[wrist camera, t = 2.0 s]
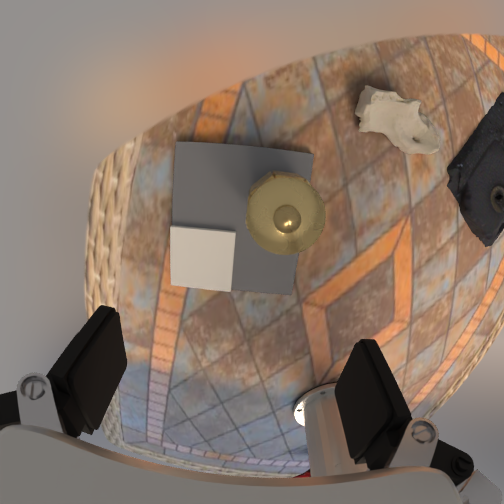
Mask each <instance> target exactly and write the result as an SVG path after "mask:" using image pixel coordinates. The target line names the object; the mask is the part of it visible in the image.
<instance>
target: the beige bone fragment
mask: <svg viewBox="0 0 504 504" xmlns="http://www.w3.org/2000/svg"><path fill="white" fill-rule="evenodd" d="M359 96H360V98H359V101H358V104H357V107H356V109H355V114H356V115H357V116H358V117H361V118H360V119H359V120H361V122H360V123H359V126H360V128H359V132H368V131H374V132H377V133H378V132H381V133H383V134H385V135H386V136H387V137H388V139H389V140H390V141H391V142H392V143H393V145H394V146H396V147H397V146H398V147H399V149H400V151H403V152H405V153H407V154H414V153H421V154H433V153H435V152H437V151H438V149H440V137H439V135H438V133H437V131H436V129H435V127H434V126H433V124H432V123H431V122H430V121H429V120H428V119H427V118H426V116H425V115H423V114H422V113H420V112H418V109H419V107H420V104H421V100H418V99H402V98H401V97H400V96H399V95H397V94H396V92H393V91H384V90H379V89H376V88H373V87H371V86H365V89H364V91H362V92H361V94H360V95H359Z"/></svg>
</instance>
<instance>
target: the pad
mask: <svg viewBox="0 0 504 504" xmlns="http://www.w3.org/2000/svg"><path fill="white" fill-rule="evenodd" d="M235 237H236V231H228V230H218V229H207V228H197V227H186V226H175V225H172V226H171V227H170V270H171V285H174V286H182V287H190V288H199V289H207V290H216V291H225V292H231V285H232V272H233V260H234V249H235Z"/></svg>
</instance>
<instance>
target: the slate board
mask: <svg viewBox="0 0 504 504" xmlns="http://www.w3.org/2000/svg"><path fill="white" fill-rule="evenodd" d="M313 157H314V154H310V153H303V152H296V151H289V150H282V149H273V148H265V147H255V146H245V145H234V144H220V143H204V142H177V141H176V146H175V161H174V178H173V201H172V225H175V226H186V227H197V228H207V229H218V230H228V231H236V237H235V249H234V260H233V272H232V285H231V290H241V291H251V292H261V293H272V294H283V295H291V294H292V289H293V284H294V278H295V273H296V267H297V262H298V256H299V253H296V254H291V255H279V254H275V253H271V252H269V251H267V250H265V249H263V248H262V247H261V246H259V245H258V244H257V243H256V242H255V240H254V239H253V238H252V236H251V234H250V232H249V230H248V228H247V227H246V226H247V224H246V212H247V204H248V195H249V189H251V186H252V185H253V184H254V183H256V182H257V181H258V180H259V179H261V178H262V177H263V176H265V175H266V174H267V173H268V172H271V173H273V170H274V171H282V172H290V173H297V174H299V175H300V176H302V177H303V178H305V179H306V180H308V182H309V183H310V180H311V172H312V165H313Z"/></svg>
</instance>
